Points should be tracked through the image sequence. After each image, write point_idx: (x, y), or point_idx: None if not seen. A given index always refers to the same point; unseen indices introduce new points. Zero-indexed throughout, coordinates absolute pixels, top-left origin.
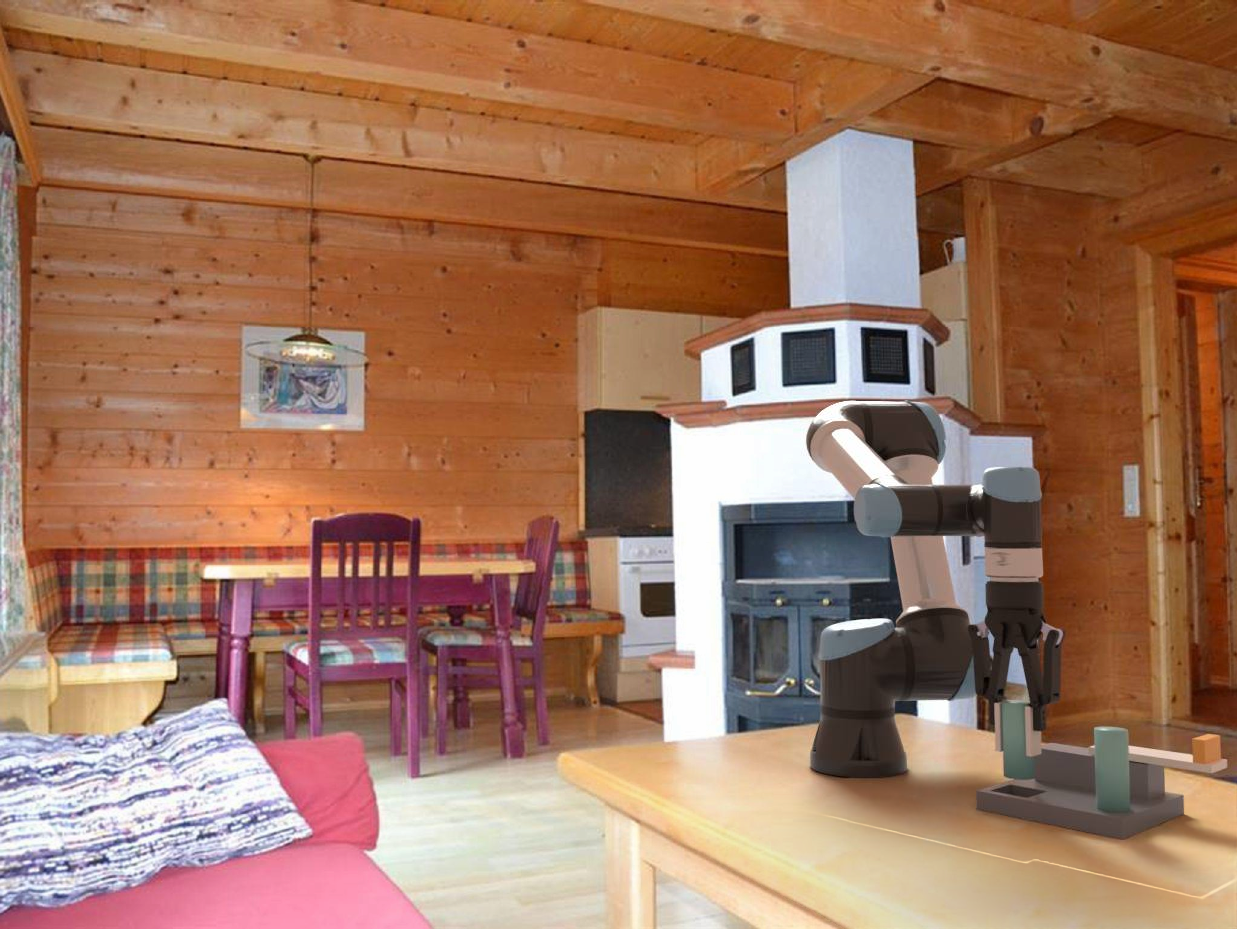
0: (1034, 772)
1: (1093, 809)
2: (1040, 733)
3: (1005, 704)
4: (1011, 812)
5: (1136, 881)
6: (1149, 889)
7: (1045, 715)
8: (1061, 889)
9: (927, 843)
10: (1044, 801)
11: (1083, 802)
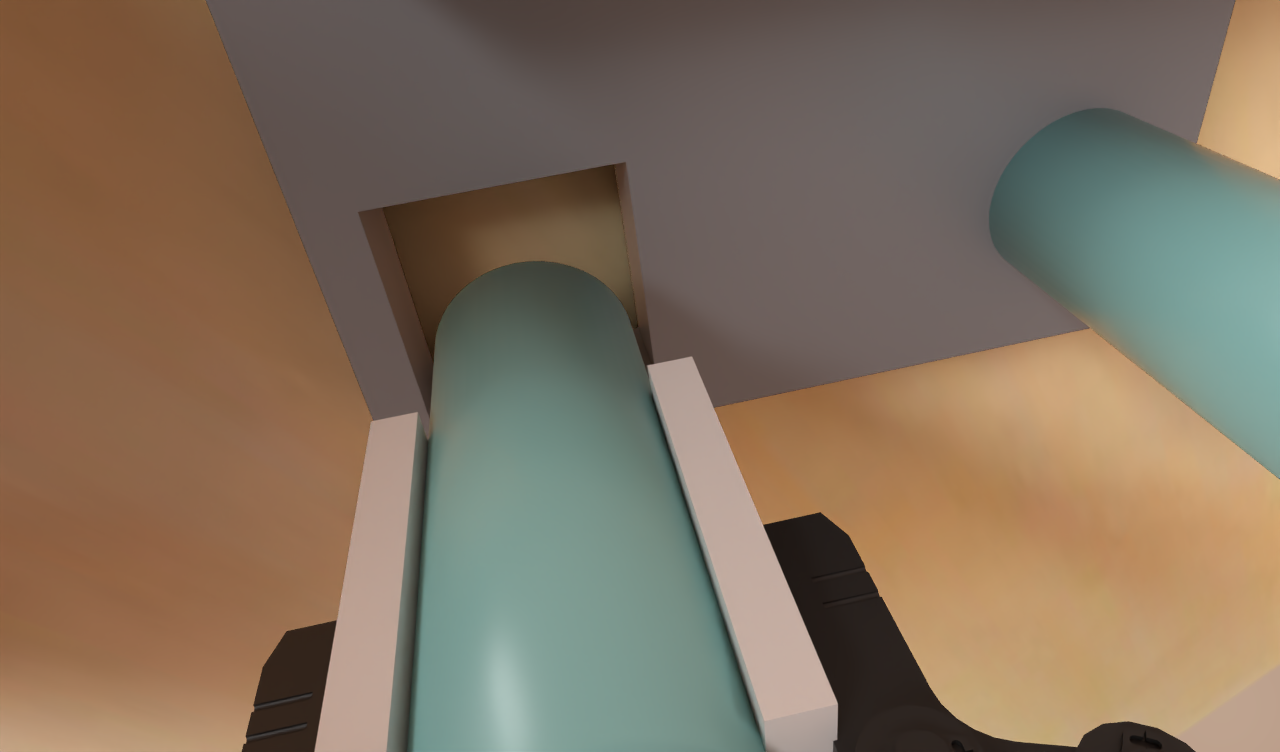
0: (627, 321)
1: (998, 289)
2: (738, 471)
3: None
4: None
5: (1206, 547)
6: (1242, 564)
7: (895, 635)
8: (1069, 697)
9: None
10: (756, 363)
11: (906, 214)
